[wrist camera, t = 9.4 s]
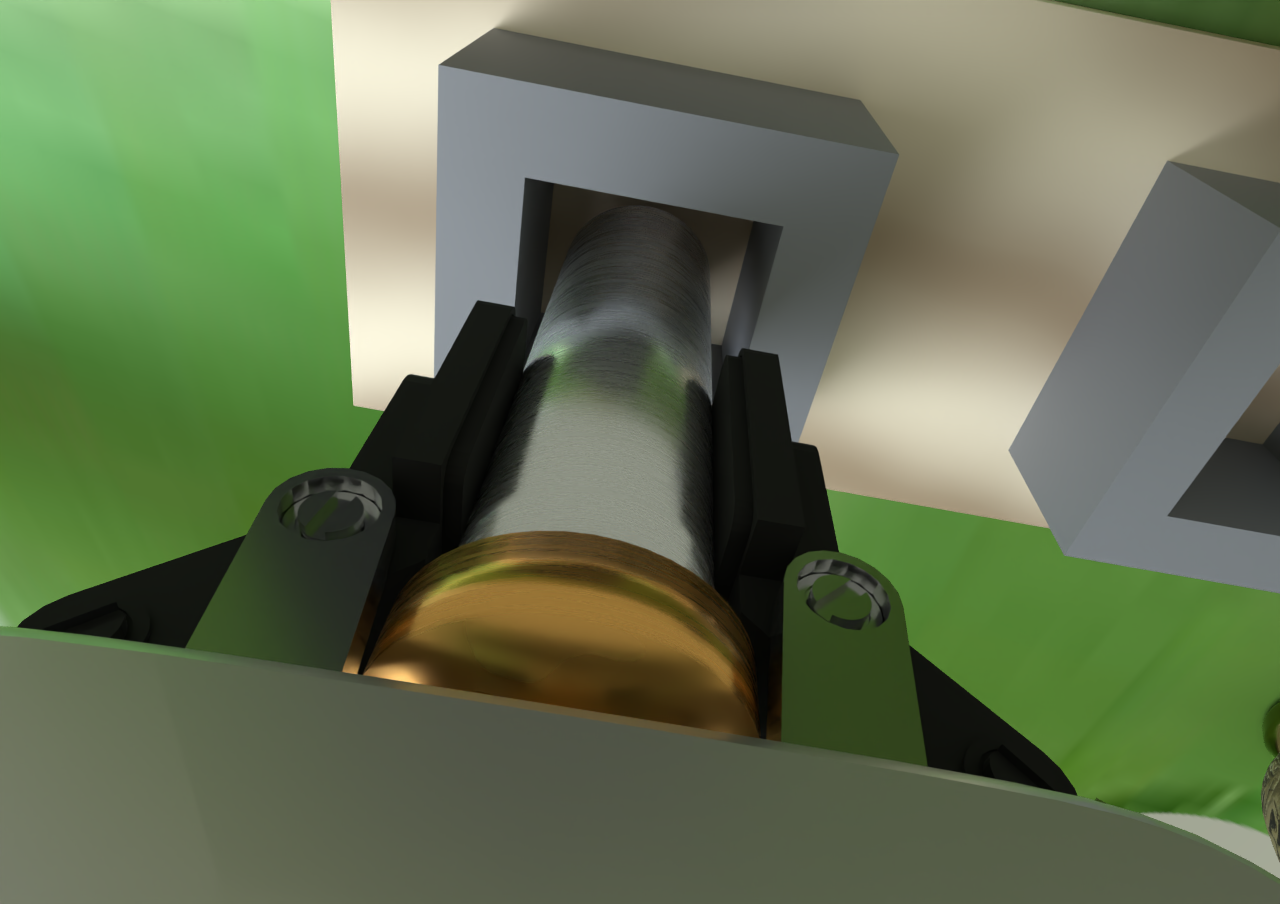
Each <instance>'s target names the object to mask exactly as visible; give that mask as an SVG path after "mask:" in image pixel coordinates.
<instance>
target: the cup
mask: <svg viewBox="0 0 1280 904" xmlns="http://www.w3.org/2000/svg"><path fill="white" fill-rule="evenodd" d="M1262 731H1263V739H1264V743H1265V746H1266V748H1267V750H1268V751H1269V752H1270V753H1271V754H1272V755H1273V756H1274V757H1275V758H1274V760H1273V761H1272V762H1271V764H1270V765H1269V767H1268V769H1267V772H1266V774H1265V777H1264V779H1263V784H1262V792H1261V800H1262V811H1263V815H1264V819H1265V823H1266V827H1267V830H1268V833H1269V836H1270V838H1271V841H1272V844H1273V847H1274V849H1275V852H1276V854H1277V857H1278V859H1279V862H1280V702H1279V703H1277V704H1276V705H1275V706H1274V707H1273V708H1271V709H1270V711H1269V712H1268V713H1267V714H1266V716H1265V718H1264V721H1263V725H1262Z"/></svg>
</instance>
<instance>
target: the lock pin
mask: <svg viewBox="0 0 1280 904" xmlns="http://www.w3.org/2000/svg"><path fill="white" fill-rule="evenodd" d="M363 675H365V676H371V677H378V678H384V679H391V680H397V681H404V682H410V683H417V684H423V685H430V686H436V687H443V688H449V689H455V690H462V691H468V692H474V693H481V694H487V695H493V696H500V697H506V698H512V699H519V700H525V701H531V702H537V703H544V704H550V705H556V706H563V707H569V708H575V709H581V710H588V711H594V712H600V713H606V714H613V715H619V716H625V717H631V718H638V719H644V720H650V721H656V722H662V723H669V724H675V725H681V726H687V727H694V728H700V729H706V730H712V731H718V732H724V733H730V734H736V735H742V736H748V737H754V738H760V739H761V734H760V719H759V704H758V689H757V673H756V663H755V654H754V649H753V646H752V643H751V640H750V637H749V634H748V632H747V631H746V629H745V627H744V625H743V623H742V621H741V619H740V618H739V616H738V615H737V614H736V612H735V611H734V610H733V608H732V607H731V606H730V605H729V603H728V602H727V601H726V600H725V599H724V598H723V597H722V596H721V595H720V594H719V593H718V592H717V591H716V590H715V585H714V521H713V450H712V359H711V293H710V267H709V262H708V258H707V254H706V252H705V249H704V247H703V245H702V243H701V242H700V240H699V238H698V237H697V236H696V234H695V233H694V232H693V231H692V230H691V229H690V228H689V227H688V226H687V225H686V224H685V223H684V222H683V221H681V220H680V219H679V218H677V217H675V216H674V215H672V214H670V213H668V212H666V211H663V210H661V209H657V208H654V207H650V206H642V205H628V206H621V207H617V208H613V209H610V210H607V211H605V212H603V213H601V214H599V215H597V216H596V217H594V218H592V219H591V220H590V221H589V222H587V223H586V224H585V225H584V226H583V227H582V228H581V229H580V230H579V232H578V233H577V235H576V236H575V237H574V239H573V241H572V243H571V245H570V247H569V249H568V252H567V255H566V258H565V260H564V263H563V266H562V268H561V271H560V274H559V276H558V279H557V282H556V284H555V287H554V290H553V293H552V295H551V298H550V301H549V303H548V306H547V309H546V311H545V314H544V317H543V319H542V322H541V325H540V328H539V330H538V333H537V336H536V338H535V341H534V344H533V346H532V349H531V352H530V354H529V357H528V360H527V363H526V365H525V368H524V371H523V374H522V377H521V380H520V383H519V385H518V388H517V391H516V393H515V396H514V399H513V401H512V404H511V407H510V410H509V412H508V415H507V418H506V420H505V423H504V426H503V428H502V431H501V434H500V437H499V439H498V442H497V445H496V447H495V450H494V453H493V456H492V458H491V461H490V464H489V466H488V469H487V472H486V474H485V477H484V480H483V483H482V485H481V488H480V491H479V493H478V496H477V499H476V501H475V504H474V507H473V510H472V512H471V515H470V518H469V520H468V523H467V526H466V528H465V531H464V534H463V537H462V539H461V542H460V544H459V546H458V548H456V549H453V550H451V551H449V552H447V553H445V554H443V555H441V556H439V557H438V558H436V559H435V560H433V561H432V562H430V563H429V564H427V565H425V566H424V567H423V568H422V569H421V570H420V571H419V572H417V573H416V574H415V575H414V576H413V577H412V578H411V579H410V580H409V581H408V582H407V584H406V585H405V586H404V587H403V589H402V590H401V591H400V593H399V594H398V596H397V598H396V600H395V602H394V604H393V606H392V608H391V610H390V612H389V615H388V617H387V619H386V622H385V624H384V626H383V629H382V631H381V633H380V636H379V638H378V640H377V642H376V645H375V647H374V649H373V652H372V654H371V656H370V659H369V661H368V663H367V666H366V668H365V670H364V673H363Z"/></svg>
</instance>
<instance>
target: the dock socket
mask: <svg viewBox="0 0 1280 904" xmlns="http://www.w3.org/2000/svg"><path fill="white" fill-rule="evenodd" d="M898 157H899V153H898V152H897V151H896V149H895V148H894V146H893V145H892V144H891V142H890V141H889V139H888V138H887V137H886V135H885V134H884V132H883V131H882V130H881V128H880V127H879V125H878V124H877V123H876V121H875V120H874V118H873V117H872V116H871V114H870V113H869V111H868V110H867V109H866V107H865V106H864V104H863V103H862V102H861V100H857V99H852V98H847V97H842V96H837V95H832V94H827V93H822V92H817V91H812V90H807V89H802V88H797V87H791V86H786V85H781V84H776V83H771V82H766V81H761V80H756V79H751V78H746V77H741V76H736V75H731V74H726V73H720V72H715V71H710V70H705V69H700V68H695V67H690V66H685V65H680V64H675V63H670V62H665V61H660V60H655V59H650V58H644V57H639V56H634V55H629V54H624V53H619V52H614V51H609V50H604V49H599V48H594V47H589V46H584V45H579V44H573V43H568V42H563V41H558V40H553V39H548V38H543V37H538V36H533V35H528V34H523V33H518V32H513V31H508V30H503V29H497V28H493V29H491V30H490V31H488V32H487V33H485V34H484V35H482V36H481V37H479V38H478V39H476V40H475V41H473V42H472V43H470V44H469V45H467V46H466V47H464V48H463V49H461V50H460V51H458V52H457V53H455V54H454V55H452V56H451V57H449V58H448V59H446V60H445V61H443V62H442V63H440V64H439V65H438V126H437V195H436V264H435V332H434V378H435V376H436V375H437V373H438V371H439V369H440V367H441V365H442V364H443V362H444V360H445V358H446V356H447V354H448V353H449V351H450V349H451V347H452V345H453V343H454V342H455V340H456V338H457V336H458V334H459V332H460V330H461V329H462V327H463V325H464V323H465V321H466V319H467V318H468V316H469V314H470V312H471V310H472V308H473V307H474V305H475V303H476V302H477V300H480V301H486V302H491V303H497V304H502V305H508V306H514V307H515V311H516V317H521V318H526V319H527V321H528V326H527V338H526V349H525V360H524V368H525V365H526V363H527V360H528V357H529V354H530V352H531V349H532V346H533V344H534V341H535V338H536V336H537V333H538V330H539V328H540V325H541V322H542V319H543V317H544V314H545V313H542V312H541V306H542V296H543V286H544V277H545V267H546V257H547V247H548V237H549V227H550V218H551V208H552V198H553V188H554V183H557V184H562V185H567V186H573V187H578V188H583V189H589V190H594V191H599V192H604V193H610V194H615V195H620V196H625V197H631V198H636V199H641V200H647V201H652V202H657V203H662V204H668V205H673V206H678V207H683V208H689V209H694V210H699V211H704V212H710V213H715V214H720V215H726V216H731V217H736V218H741V219H747V220H752V221H753V225H752V229H751V233H750V237H749V241H748V244H747V248H746V252H745V256H744V260H743V264H742V268H741V272H740V276H739V279H738V283H737V287H736V291H735V295H734V299H733V303H732V307H731V311H730V314H729V318H728V322H727V326H726V330H725V334H724V338H723V342H722V345H717V344H711V359H712V403H713V399H714V396H715V392H716V388H717V384H718V380H719V377H720V373H721V369H722V365H723V362H724V359H725V356H726V355H731V356H737V357H738V354H739V352H740V350H741V348H745V349H751V350H756V351H762V352H767V353H773V354H778V357H779V362H780V368H781V375H782V381H783V387H784V394H785V400H786V407H787V413H788V419H789V426H790V432H791V439H792V441H793V442H799V439H800V436H801V433H802V431H803V428H804V425H805V422H806V419H807V416H808V414H809V411H810V408H811V405H812V402H813V399H814V396H815V394H816V391H817V388H818V385H819V382H820V379H821V376H822V374H823V371H824V368H825V365H826V362H827V359H828V357H829V354H830V351H831V348H832V345H833V342H834V339H835V337H836V334H837V331H838V328H839V325H840V322H841V319H842V317H843V314H844V311H845V308H846V305H847V302H848V300H849V297H850V294H851V291H852V288H853V285H854V282H855V280H856V277H857V274H858V271H859V268H860V265H861V263H862V260H863V257H864V254H865V251H866V248H867V245H868V243H869V240H870V237H871V234H872V231H873V228H874V225H875V223H876V220H877V217H878V214H879V211H880V208H881V206H882V203H883V200H884V197H885V194H886V191H887V188H888V186H889V183H890V180H891V177H892V174H893V171H894V168H895V166H896V163H897V160H898Z"/></svg>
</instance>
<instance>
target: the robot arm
mask: <svg viewBox="0 0 1280 904" xmlns="http://www.w3.org/2000/svg"><path fill="white" fill-rule="evenodd" d="M527 326H528V321H527V319H526V318H521V317H516V311H515V307H514V306H508V305H502V304H497V303H491V302H486V301H480V300H477V302H476V303H475V305H474V307H473V308H472V310H471V312H470V314H469V316H468V318H467V319H466V321H465V323H464V325H463V327H462V329H461V330H460V332H459V334H458V336H457V338H456V340H455V342H454V343H453V345H452V347H451V349H450V351H449V353H448V354H447V356H446V358H445V360H444V362H443V364H442V365H441V367H440V369H439V371H438V373H437V375H436V376H435V378H431V377H425V376H419V375H414V374H409V375H407V376H406V377H405V378H404V380H403V381H402V383H401V384H400V386H399V388H398V389H397V391H396V393H395V394H394V396H393V397H392V399H391V401H390V402H389V404H388V406H387V407H386V409H385V411H384V412H383V414H382V416H381V417H380V419H379V421H378V422H377V424H376V426H375V427H374V429H373V430H372V432H371V434H370V435H369V437H368V439H367V440H366V442H365V444H364V445H363V447H362V449H361V450H360V452H359V454H358V455H357V457H356V459H355V460H354V462H353V464H352V465H351V467H350V468H349V469H348V468H326V469H320V470H314V471H308V472H305V473H303V474H300V475H297V476H295V477H292V478H290V479H288V480H287V481H285V482H284V483H282V484H281V485H279V486H278V487H276V488H275V489H274V490H273V492H272V493H271V494H270V495H269V496H268V498H267V499H266V500H265V502H264V504H263V506H262V507H261V509H260V511H259V513H258V515H257V517H256V518H255V520H254V522H253V524H252V526H251V528H250V530H249V531H248V533H247V535H245V536H242V537H239V538H236V539H233V540H230V541H227V542H224V543H221V544H218V545H215V546H212V547H209V548H206V549H203V550H200V551H197V552H194V553H192V554H189V555H186V556H183V557H180V558H177V559H174V560H171V561H168V562H165V563H162V564H159V565H156V566H153V567H150V568H147V569H144V570H141V571H138V572H136V573H133V574H130V575H127V576H124V577H121V578H118V579H115V580H112V581H109V582H106V583H103V584H100V585H97V586H94V587H91V588H88V589H85V590H83V591H80V592H77V593H74V594H71V595H68V596H66V597H63V598H61V599H59V600H57V601H54V602H52V603H50V604H48V605H45V606H44V607H42V608H41V609H39V610H38V611H36V612H35V613H33V614H32V615H30V616H29V617H27V618H26V619H24V620H23V621H22V622H21V623H20V624H19V625H18V627H3V626H0V904H1280V879H1279V878H1277V877H1275V876H1274V875H1272V874H1270V873H1269V872H1267V871H1265V870H1264V869H1262V868H1260V867H1259V866H1257V865H1255V864H1254V863H1252V862H1250V861H1248V860H1246V859H1244V858H1242V857H1240V856H1238V855H1236V854H1234V853H1232V852H1230V851H1228V850H1226V849H1224V848H1222V847H1219V846H1218V845H1216V844H1214V843H1212V842H1210V841H1208V840H1206V839H1204V838H1202V837H1200V836H1198V835H1195V834H1193V833H1190V832H1188V831H1185V830H1182V829H1180V828H1177V827H1174V826H1172V825H1169V824H1166V823H1164V822H1161V821H1158V820H1156V819H1153V818H1150V817H1148V816H1145V815H1142V814H1140V813H1137V812H1133V811H1130V810H1126V809H1123V808H1119V807H1116V806H1112V805H1109V804H1106V803H1105V802H1103V801H1101V800H1099V799H1097V798H1096V799H1095V800H1092V799H1088V798H1085V797H1080V796H1077V793H1076V791H1075V788H1074V787H1073V785H1072V784H1071V783H1070V781H1069V780H1068V778H1067V777H1066V776H1065V774H1064V773H1063V771H1062V770H1061V769H1060V768H1059V767H1058V766H1057V765H1056V764H1055V763H1054V762H1053V761H1052V760H1051V759H1050V758H1049V757H1048V756H1047V755H1046V754H1045V753H1044V752H1042V751H1041V750H1040V749H1039V748H1037V747H1036V746H1035V745H1034V744H1032V743H1031V742H1030V741H1029V740H1027V739H1026V738H1025V737H1024V736H1022V735H1021V734H1020V733H1019V732H1017V731H1016V730H1015V729H1014V728H1012V727H1011V726H1010V725H1009V724H1007V723H1006V722H1005V721H1004V720H1002V719H1001V718H1000V717H999V716H997V715H996V714H995V713H994V712H992V711H991V710H990V709H989V708H987V707H986V706H985V705H984V704H982V703H981V702H980V701H979V700H977V699H976V698H975V697H974V696H972V695H971V694H970V693H969V692H967V691H966V690H965V689H964V688H962V687H961V686H960V685H959V684H957V683H956V682H955V681H954V680H952V679H951V678H950V677H949V676H947V675H946V674H945V673H944V672H942V671H941V670H940V669H939V668H937V667H936V666H935V665H934V664H932V663H931V662H930V661H929V660H927V659H926V658H925V657H924V656H922V655H921V654H920V653H919V652H917V651H916V650H915V649H914V648H912V647H911V646H910V645H909V641H908V634H907V628H906V621H905V615H904V608H903V605H902V602H901V599H900V596H899V593H898V592H897V591H896V589H895V588H894V586H893V585H892V584H891V582H890V581H889V580H888V579H887V578H886V577H885V576H884V575H882V574H881V573H880V572H879V571H878V570H877V569H875V568H874V567H872V566H871V565H869V564H867V563H865V562H863V561H862V560H860V559H858V558H855V557H852V556H849V555H846V554H843V553H840V552H839V550H838V545H837V541H836V536H835V531H834V526H833V521H832V516H831V511H830V506H829V501H828V496H827V491H826V486H825V481H824V476H823V471H822V466H821V461H820V456H819V452H818V449H817V447H816V446H814V445H810V444H805V443H799V442H793V441H792V439H791V432H790V426H789V419H788V413H787V407H786V400H785V394H784V387H783V381H782V375H781V368H780V362H779V357H778V354H773V353H767V352H762V351H756V350H751V349H745V348H741V350H740V352H739V354H738V357H737V356H731V355H726V356H725V359H724V362H723V365H722V369H721V373H720V377H719V380H718V384H717V388H716V392H715V396H714V399H713V403H712V450H713V521H714V585H715V590H716V591H717V592H718V593H719V594H720V595H721V596H722V597H723V598H724V599H725V600H726V601H727V602H728V603H729V605H730V606H731V607H732V608H733V610H734V611H735V612H736V614H737V615H738V616H739V618H740V619H741V621H742V623H743V625H744V627H745V629H746V631H747V632H748V634H749V637H750V640H751V643H752V646H753V649H754V654H755V663H756V673H757V689H758V704H759V719H760V734H761V739H760V738H754V737H748V736H742V735H736V734H730V733H724V732H718V731H712V730H706V729H700V728H694V727H687V726H681V725H675V724H669V723H662V722H656V721H650V720H644V719H638V718H631V717H625V716H619V715H613V714H606V713H600V712H594V711H588V710H581V709H575V708H569V707H563V706H556V705H550V704H544V703H537V702H531V701H525V700H519V699H512V698H506V697H500V696H493V695H487V694H481V693H474V692H468V691H462V690H455V689H449V688H443V687H436V686H430V685H423V684H417V683H410V682H404V681H397V680H391V679H384V678H378V677H371V676H365V675H363V673H364V670H365V668H366V666H367V663H368V661H369V659H370V656H371V654H372V652H373V649H374V647H375V645H376V642H377V640H378V638H379V636H380V633H381V631H382V629H383V626H384V624H385V622H386V619H387V617H388V615H389V612H390V610H391V608H392V606H393V604H394V602H395V600H396V598H397V596H398V594H399V593H400V591H401V590H402V589H403V587H404V586H405V585H406V584H407V582H408V581H409V580H410V579H411V578H412V577H413V576H414V575H415V574H416V573H417V572H419V571H420V570H421V569H422V568H423V567H424V566H425V565H427V564H429V563H430V562H432V561H433V560H435V559H436V558H438V557H439V556H441V555H443V554H445V553H447V552H449V551H451V550H453V549H456V548H458V546H459V544H460V542H461V539H462V537H463V534H464V531H465V528H466V526H467V523H468V520H469V518H470V515H471V512H472V510H473V507H474V504H475V501H476V499H477V496H478V493H479V491H480V488H481V485H482V483H483V480H484V477H485V474H486V472H487V469H488V466H489V464H490V461H491V458H492V456H493V453H494V450H495V447H496V445H497V442H498V439H499V437H500V434H501V431H502V428H503V426H504V423H505V420H506V418H507V415H508V412H509V410H510V407H511V404H512V401H513V399H514V396H515V393H516V391H517V388H518V385H519V383H520V380H521V377H522V374H523V371H524V360H525V349H526V338H527Z"/></svg>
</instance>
